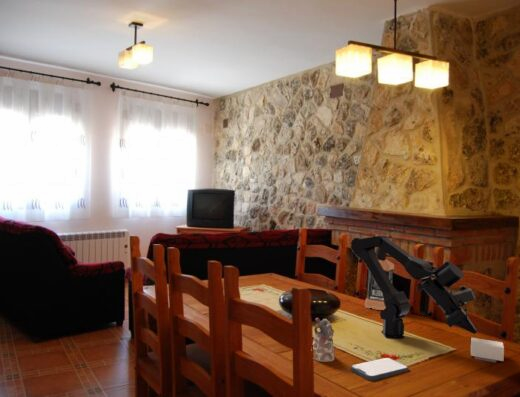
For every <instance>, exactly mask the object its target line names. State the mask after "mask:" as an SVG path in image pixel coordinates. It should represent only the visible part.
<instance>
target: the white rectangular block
mask: <svg viewBox="0 0 520 397" xmlns="http://www.w3.org/2000/svg"><path fill="white" fill-rule="evenodd" d="M470 338H471V340H470V356H472V357H474V356H476V357H482V358H488V359H493V360H496V361H500V362H504V356H505V355H504V354H505V347H504V343H503V342H502V341H496V340H489V339H485V338H477V337H470Z"/></svg>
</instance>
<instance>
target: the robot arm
mask: <svg viewBox="0 0 520 397" xmlns="http://www.w3.org/2000/svg"><path fill="white" fill-rule="evenodd" d="M377 247H379V248H381V249H382V250H383V251H385V252H386V253H387V255H388V256H390V257H391V258H393V259H394V260H395V261H397V262H398V263H399V264H401V265H402V266H403V268H404V270H405V271H406V273H407V274H408V275H409V276H410V277H411V278H412V279H414V280H416V281H419V280H424V279H425V280H424V281H422V282H421V281H419V282H418V283H416V286H417V293H420V292H421V291H422V290H424V292H425V293H427V295H428V296H429V297H430V298H431V299H432V301H434V302H435V303H434V304H435V305H436V306H437V307H439V308H441V310H442V311H443V314H444V315H445V323H446V324H447V326H448V327H449V328H452V327H453V326H454V325H455V326H458V327H459V328H462V329H463V330H465V331H468V332H469V333H471V334H474V335H475V334H477V332H478V330H477V328H476V327H475V326H474V323H473V322H472V321H471V320H470V317H469V316H468V307H465V308H464V309H463V308H462V307H463V306H466V305H467V303H468V302H473V301H475V300H476V296H475V295H474V292H473V290H472V288H471V287H467V286H466V285H462V286H460V287H459V290H457V291H456V292H453V291H452V290H450V289H448V288H450V287H453V285H455V284H457V283H458V282H459V281H461V280H462V279H464V275H465V274H464V273H463V271H462V270H461V268H459V267H458V266H457V265H455V264H454V263H452V261H451V260H447V261H445V262H443V264H442V265H441V266H440V267H436V266H433V265H432V264H431V263H430V262H429V261H426V260H424V259H422V258H421V257H417V256H414V255H411V253H409V252H407V251H406V250H405V249H403V248H402V247H400V246H399V245H397V244H396V243H395V242H393V241H392V240H391V239H389V238H388V237H387V236H386V235H385V234H377V235H374V236H372V237H371V236H370V237H368V236H362V237H354V238H353V239H352V240H351V243H350V248H351V251H352V252H353V253H354V254H355V256H356V257H357V258H359V259H360V260H362V261H363V262H364V264H365V266H366V267H367V270H368V269H369V271H370V273H371V275H372V276H373V278H374V280H375V281H376V283H377V285H378V287H379V288H380V290H381V292H382V294H383V296H384V305H385V307H386V308H385V309H384V310H383V311H381V310H380V311H381V312H379V315H380V319H381V320H382V330H381V333H382V335H383V336H384V337H385V338H387V339H388V338H389V339H405V336H404V335H405V323H404V319H405V318H406V317H407V316H406V315H407V314H408V313H409V312H410V310H411V304H410V302H411V300H410V299H409V298H408V297H407V295H406V293H405V291H404V290H403V291H398V290H397V289H396V288H395V287H394V286H395V285H394V283H393V284H392V283H391V281H390V279H389V278H388V276H387V274H386V273H385V271H384V269H383V268H382V266H381V264H380V263H379V261H378V259H377V257H376V248H377ZM430 277H433V278H430Z"/></svg>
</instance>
